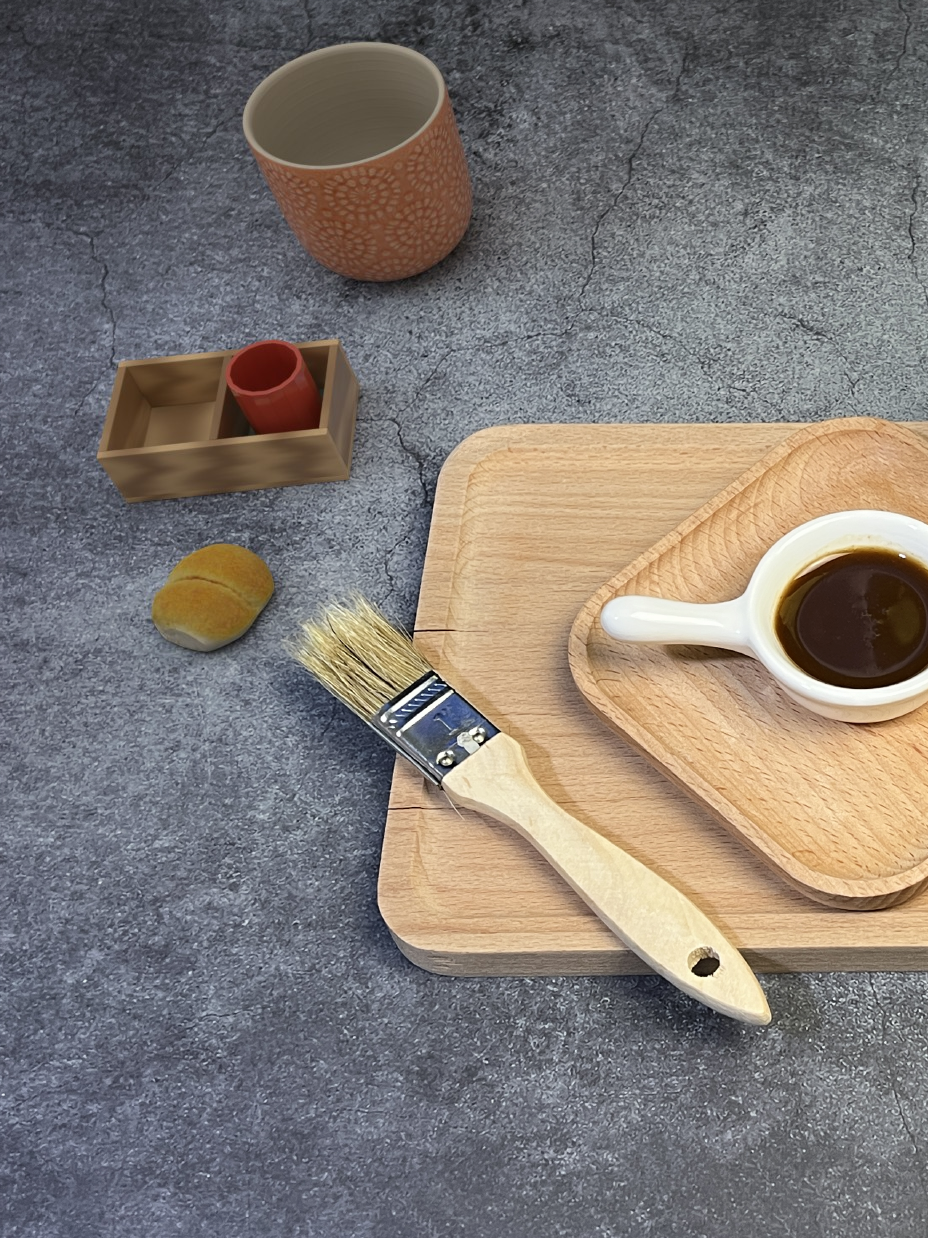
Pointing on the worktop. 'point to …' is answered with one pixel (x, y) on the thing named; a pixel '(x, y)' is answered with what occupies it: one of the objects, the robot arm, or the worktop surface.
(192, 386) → the caddy
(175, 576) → the bread roll
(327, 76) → the planter
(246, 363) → the cup
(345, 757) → the worktop surface
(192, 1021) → the worktop surface
